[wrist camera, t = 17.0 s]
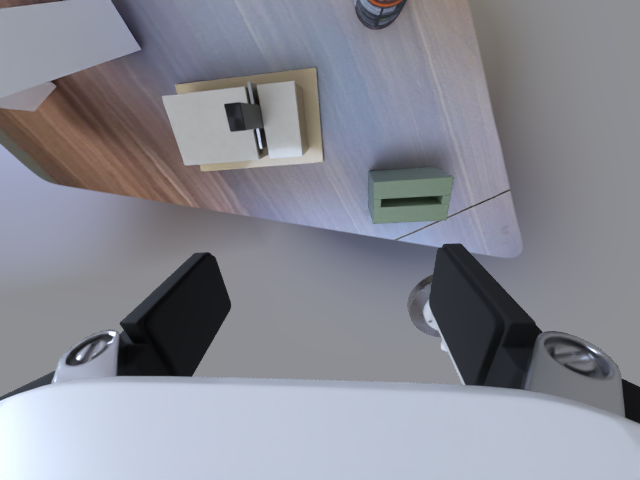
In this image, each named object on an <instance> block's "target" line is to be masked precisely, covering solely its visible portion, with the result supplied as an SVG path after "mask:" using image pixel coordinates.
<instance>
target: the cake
mask: <svg viewBox="0 0 640 480" xmlns="http://www.w3.org/2000/svg"><path fill="white" fill-rule="evenodd" d="M247 82H252V83H255V84H257V90H258V96H259V101H260V107H261V113H262V118H263V124H264V130H265V135H266V141H267V147H266V148H263V149H260V148H259V142H258V137H257V132H256V129H253V130H246V131H236V132H231V131H230V128H229V124H228V120H227V115H226V111H225V107H224V104H227V103H236V102H242V103H249V104H251V101H250V95H249V90H248V85H247ZM175 88H176V91H177V94H175V95H166V96H161V97H162V100H163V103H164V106H165V109H166V112H167V115H168V118H169V120H170V123H171V126H172V129H173V132H174V135H175V138H176V141H177V144H178V147H179V150H180V153H181V156H182V159H183V162H184V165H185V166H188V165H200V168H201V171H202V172H205V171H218V170H231V169H244V168H257V167H270V166H283V165H296V164H310V163H323V148H322V135H321V122H320V108H319V95H318V82H317V69H316V68H307V69H299V70H291V71H282V72H274V73H266V74H258V75H250V76H241V77H233V78H225V79H217V80H209V81H200V82H192V83H184V84H176V85H175Z"/></svg>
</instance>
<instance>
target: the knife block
mask: <svg viewBox="0 0 640 480" xmlns="http://www.w3.org/2000/svg"><path fill="white" fill-rule="evenodd" d="M453 179H454V177H453V176H451V175H449V174H447V173H445V172H444V171H442V170H440V169H438V168H436V167H423V168H408V169H394V170H380V171H369V182H368V208H369V211H370V214H371V218H372V221H373V224H376V223H398V222H419V221H441V220H446V219H447V213H448V208H449V201H450V195H451V190H452V184H453Z"/></svg>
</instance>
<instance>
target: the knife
mask: <svg viewBox="0 0 640 480" xmlns="http://www.w3.org/2000/svg"><path fill="white" fill-rule="evenodd" d="M247 85H248V90H249V95H250V101H251V104H249V103H242V102H236V103H227V104H224V107H225V111H226V115H227V120H228V124H229V128H230V131H231V132H236V131H246V130H253V129H256V132H257V137H258V142H259V148H260V149H263V148H266V147H267V141H266V135H265V130H264V124H263V118H262V113H261V107H260V101H259V96H258V90H257V84H255V83H252V82H247Z"/></svg>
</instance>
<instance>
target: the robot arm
mask: <svg viewBox="0 0 640 480" xmlns="http://www.w3.org/2000/svg"><path fill="white" fill-rule="evenodd" d="M230 308H231V302H230V299H229V296H228V293H227V290H226V287H225V284H224V281H223V278H222V275H221V273H220V269H219V266H218V264H217V261H216V258H215V257H214V256H212V255H211V254H210V253H208V252H207V253H195V254H193V255H192V256H191V257H190V258H189V259H188V260H187V261H186V262H185V263H183V264H182V265H181V266H180V267H179V268H178V269H177V270H176V271H175V272H174V273H173V274H172V275H171V276H170V277H168V278H167V279H166V280H165V281H164V282H163V283H162V284H161V285H160V286H159V287H158V288H157V289H156V290H154V291H153V292H152V293H151V294H150V295H149V296H148V297H147V298H146V299H145V300H144V301H143V302H142V303H141V304H140V305H139V306H137V307H136V308H135V309H134V310H133V311H132V312H131V313H130V314H129V315H128V316H127V317H126V318H124V319H123V320H122V321H121V322H120V325H121V326H122V328H123V329H124V331H123V332H122V333H121V334H119V333H118V332H117V331H115V330H105V331H100V332H97V333H95V334H92V335H90V336H88V337H86V338H84V339H82V340H81V341H79V342H78V343H76V344H75V345H73V346H72V347H71V348H70V349H69V350H67V351H66V353H65V354H64V355H63V356H62V357H61V359H60V361H59V363H58V365H57V368H56V371H53V372H52V373H49V374H47V375H45V376H43V377H41V378H39V379H37V380H35V381H33V382H31V383H29V384H26V385H24V386H22V387H20V388H18V389H16V390H14V391H12V392H10V393H8V394H6V395H4V396H2V397H0V480H640V387H639V386H637V385H634V384H632V383H630V382H628V381H626V380H624V379H621V373H620V370H619V368H618V366H617V364H616V363H615V362H614V361H613V360H612V359H611V357H610V356H608V355H607V354H606V353H604V352H603V351H602V350H601V349H599V348H597V347H596V346H595V345H593V344H591V343H589V342H588V341H585V340H583V339H581V338H579V337H577V336H574V335H570V334H567V333H563V332H556V331H548V332H542V331H541V330H540V329H539V328H538V327H537V326H536V325H535V322H534V321H533V319H532V318H531V317H530V316H528V314H527V313H526V312H525V311H524V310H523V309H522V308H521V307H520V306H519V305H518V304H517V303H516V301H515V300H514V299H513V298H512V297H511V296H510V295H509V294H508V293H507V292H506V291H505V290H504V289H503V288H502V287H501V286H500V284H499V283H498V282H496V280H495V279H494V278H493V277H492V276H491V275H490V274H489V273H488V272H487V271H486V270H485V269H484V268H483V266H482V265H481V264H480V263H479V262H478V261H477V260H476V259H475V258H474V257H473V256H472V255H471V254H470V253H469V252H468V251H467V249H466V248H465V247H464V246H463V245H462V244H444V245H443V246H442V248H438V250H437V255H436V261H435V268H434V273H433V279H432V285H431V291H430V297H429V300H428V301H427V302H426V304H425V306H424V309H423V314H424V318H425V320H426V322H427V323H428V325H429V326H431V327H432V328H434V329H435V330H438V332H439V334H440V336H441V338H442V342H441V349H442V350H444V351H447V352H448V354H449V356H450V358H451V360H452V362H453V365H454V367H455V369H456V371H457V374H458V375H459V378H460V380H461V383H462V385H451V384H431V383H404V382H372V381H341V380H306V379H304V380H303V379H269V378H268V379H267V378H228V377H227V378H226V377H224V378H223V377H192V375H193V374H194V372H195V370H196V368H197V367H198V365H199V363H200V361H201V360H202V358H203V356H204V354H205V353H206V351H207V349H208V347H209V346H210V344H211V342H212V341H213V339H214V337H215V335H216V334H217V332H218V330H219V328H220V326H221V325H222V323H223V321H224V320H225V318H226V316H227V314H228V312H229V311H230Z"/></svg>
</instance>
